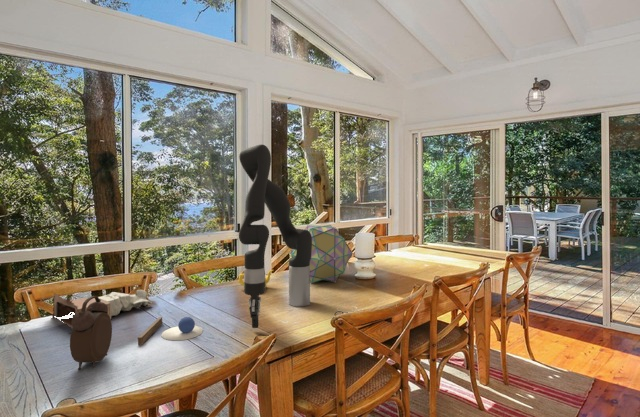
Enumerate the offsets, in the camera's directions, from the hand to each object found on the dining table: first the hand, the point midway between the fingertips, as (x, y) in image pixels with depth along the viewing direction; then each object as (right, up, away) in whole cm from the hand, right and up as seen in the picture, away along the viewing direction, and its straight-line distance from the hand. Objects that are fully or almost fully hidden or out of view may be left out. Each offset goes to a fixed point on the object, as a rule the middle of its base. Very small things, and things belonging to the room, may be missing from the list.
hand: (255, 327), depth 144 cm
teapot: (-9, +2, +59) cm, 59 cm away
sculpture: (+24, +3, +75) cm, 79 cm away
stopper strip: (-37, -2, -2) cm, 37 cm away
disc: (-26, -2, -1) cm, 26 cm away
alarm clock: (-45, -4, -25) cm, 51 cm away
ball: (-25, +1, -1) cm, 25 cm away
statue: (-63, -1, +16) cm, 65 cm away
